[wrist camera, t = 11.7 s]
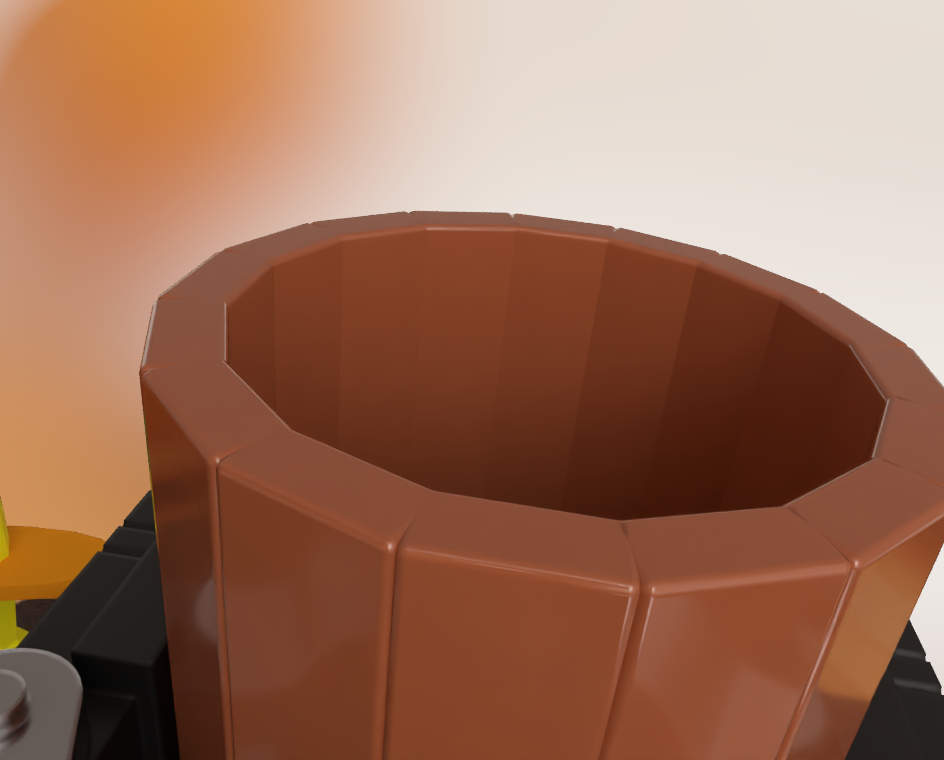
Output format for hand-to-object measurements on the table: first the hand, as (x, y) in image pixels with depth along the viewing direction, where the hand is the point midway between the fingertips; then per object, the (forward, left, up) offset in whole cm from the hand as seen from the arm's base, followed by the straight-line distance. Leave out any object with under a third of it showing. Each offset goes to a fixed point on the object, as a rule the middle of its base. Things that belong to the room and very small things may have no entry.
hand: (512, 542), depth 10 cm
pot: (0, -3, -6) cm, 7 cm away
